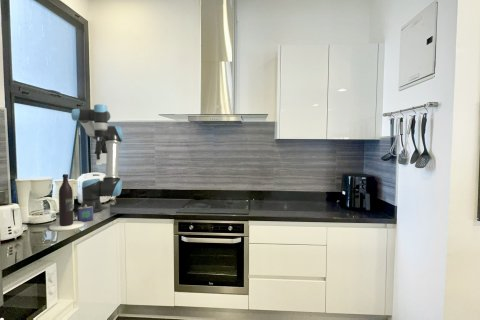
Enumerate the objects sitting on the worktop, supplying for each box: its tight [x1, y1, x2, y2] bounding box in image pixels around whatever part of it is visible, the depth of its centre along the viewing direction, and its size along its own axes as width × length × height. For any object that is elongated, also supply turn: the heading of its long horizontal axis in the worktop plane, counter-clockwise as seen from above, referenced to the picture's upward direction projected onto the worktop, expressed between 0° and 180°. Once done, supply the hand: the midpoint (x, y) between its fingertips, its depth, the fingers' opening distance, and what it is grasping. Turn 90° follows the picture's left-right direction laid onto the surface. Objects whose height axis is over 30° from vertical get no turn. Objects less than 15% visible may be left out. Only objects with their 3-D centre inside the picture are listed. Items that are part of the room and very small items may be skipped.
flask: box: [76, 205, 94, 223], centre depth 194 cm, size 9×3×11 cm, turn 135°
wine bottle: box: [58, 173, 74, 226], centre depth 180 cm, size 7×7×30 cm
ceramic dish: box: [48, 220, 85, 232], centre depth 181 cm, size 18×18×1 cm
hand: (101, 164), depth 189 cm, fingers open, 13 cm apart
